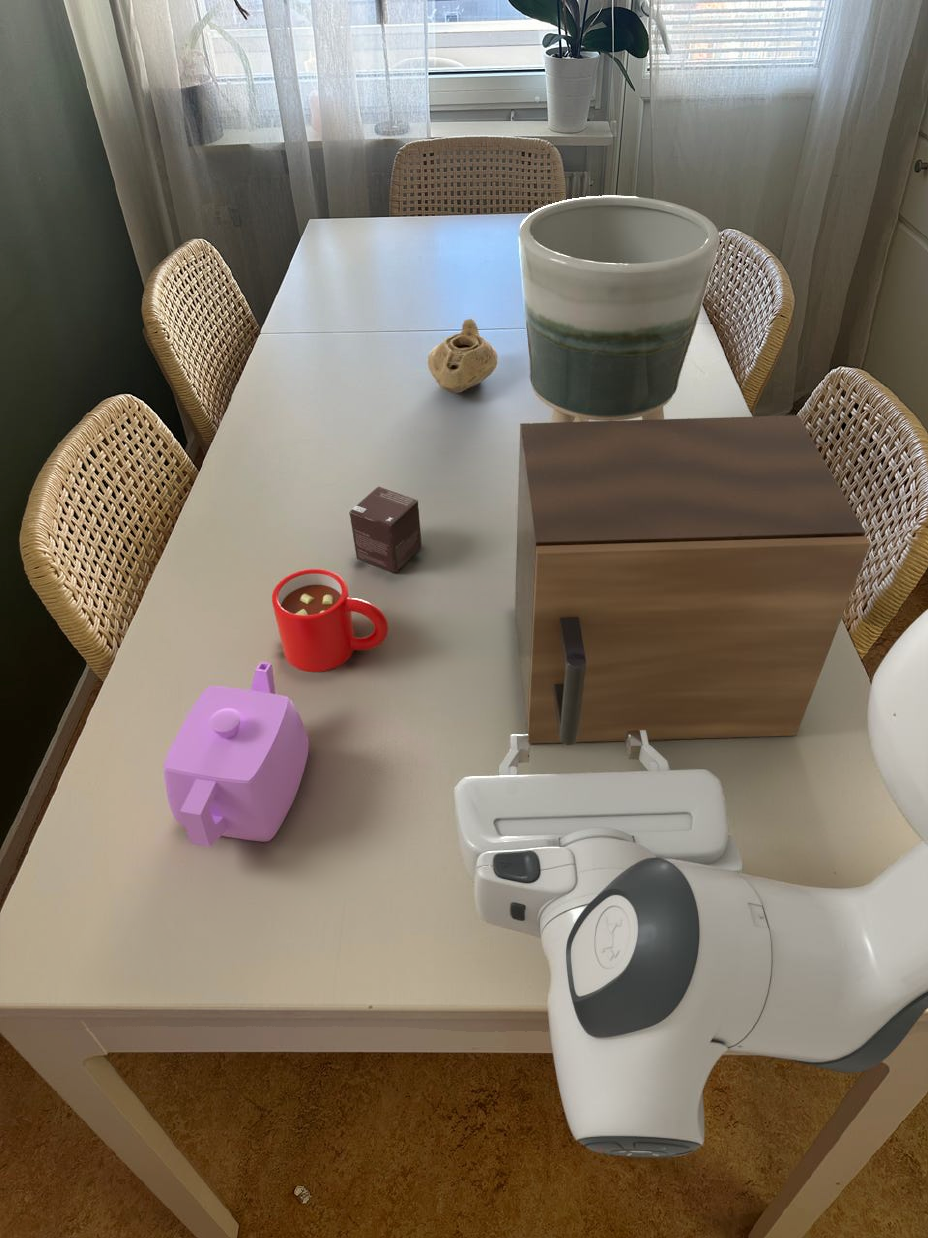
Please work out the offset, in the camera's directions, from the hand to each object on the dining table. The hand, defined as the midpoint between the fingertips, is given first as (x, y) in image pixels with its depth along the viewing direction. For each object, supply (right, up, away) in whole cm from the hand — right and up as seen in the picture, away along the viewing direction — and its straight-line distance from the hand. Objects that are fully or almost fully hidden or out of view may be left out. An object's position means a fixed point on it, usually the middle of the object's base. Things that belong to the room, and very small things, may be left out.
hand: (576, 736), depth 70 cm
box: (-18, +17, +37) cm, 45 cm away
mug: (-23, +6, +25) cm, 35 cm away
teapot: (-30, -6, +12) cm, 33 cm away
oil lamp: (-9, +47, +67) cm, 82 cm away
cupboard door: (+10, -4, +13) cm, 17 cm away
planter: (+8, +28, +47) cm, 55 cm away
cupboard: (+10, +5, +22) cm, 25 cm away
